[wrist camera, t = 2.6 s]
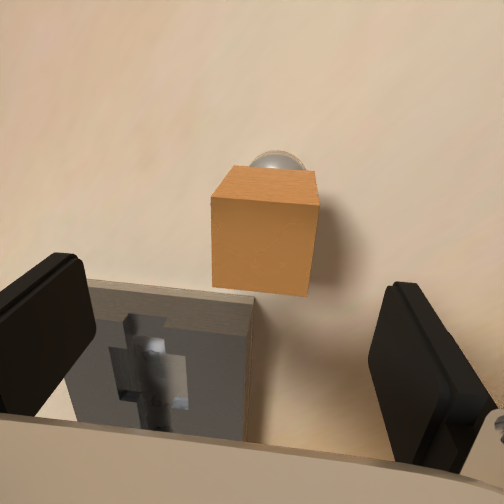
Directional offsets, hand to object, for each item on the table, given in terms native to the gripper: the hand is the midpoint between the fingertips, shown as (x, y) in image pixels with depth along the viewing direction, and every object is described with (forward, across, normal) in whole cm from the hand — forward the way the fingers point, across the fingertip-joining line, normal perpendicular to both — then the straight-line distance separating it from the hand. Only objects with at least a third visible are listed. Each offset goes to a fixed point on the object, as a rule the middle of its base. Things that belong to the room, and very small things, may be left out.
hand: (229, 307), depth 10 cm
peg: (+13, -1, 0) cm, 13 cm away
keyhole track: (+13, +7, +20) cm, 25 cm away
